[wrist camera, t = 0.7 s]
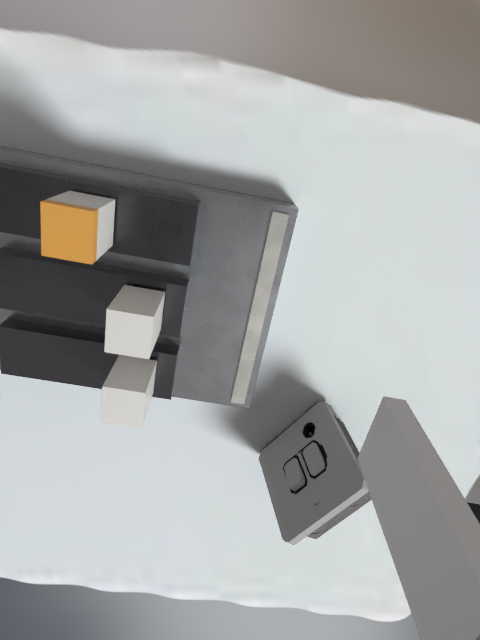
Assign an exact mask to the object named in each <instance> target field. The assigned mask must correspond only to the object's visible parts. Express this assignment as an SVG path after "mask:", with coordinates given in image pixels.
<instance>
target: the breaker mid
mask: <svg viewBox="0 0 480 640" xmlns="http://www.w3.org/2000/svg"><path fill="white" fill-rule="evenodd" d="M164 298H165V292H162V291H157V290H151V289H145V288H140V287H134V286H128V285H124V286H123V287H122V289H121V290H120V291H119V293H118V294H117V296H116V297H115V298H114V300H113V301H112V302H111V304H110V305H109V306H108V308H107V310H106V328H105V347H104V352H106V353H113V354H119V355H125V356H131V357H137V358H144V359H149V358H150V356H151V353H152V351H153V348H154V346H155V343H156V341H157V338H158V336H159V333H160V330H161V323H162V315H163V306H164Z"/></svg>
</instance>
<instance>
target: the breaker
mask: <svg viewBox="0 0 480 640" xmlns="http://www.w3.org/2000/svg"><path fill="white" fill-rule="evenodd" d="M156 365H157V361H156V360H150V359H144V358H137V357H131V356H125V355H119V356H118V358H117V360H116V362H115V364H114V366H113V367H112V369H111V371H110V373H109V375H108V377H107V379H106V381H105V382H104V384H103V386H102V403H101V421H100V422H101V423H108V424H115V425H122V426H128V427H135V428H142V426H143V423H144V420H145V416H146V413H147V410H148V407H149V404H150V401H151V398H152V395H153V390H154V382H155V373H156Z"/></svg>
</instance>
